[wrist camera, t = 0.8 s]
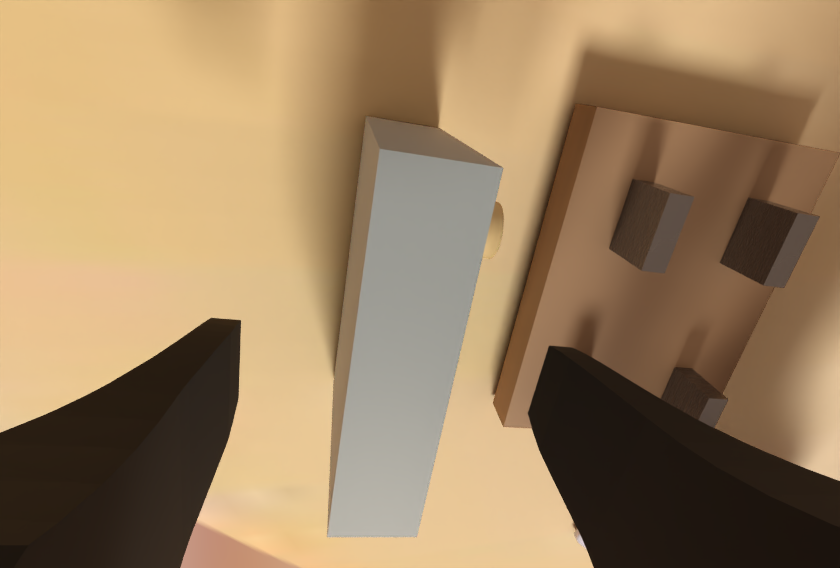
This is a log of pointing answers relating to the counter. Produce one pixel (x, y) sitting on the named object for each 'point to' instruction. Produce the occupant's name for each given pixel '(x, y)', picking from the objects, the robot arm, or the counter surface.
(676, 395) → the short dark cabinet legs
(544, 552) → the counter surface
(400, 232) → the grey rectangular block
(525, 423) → the cabinet base
